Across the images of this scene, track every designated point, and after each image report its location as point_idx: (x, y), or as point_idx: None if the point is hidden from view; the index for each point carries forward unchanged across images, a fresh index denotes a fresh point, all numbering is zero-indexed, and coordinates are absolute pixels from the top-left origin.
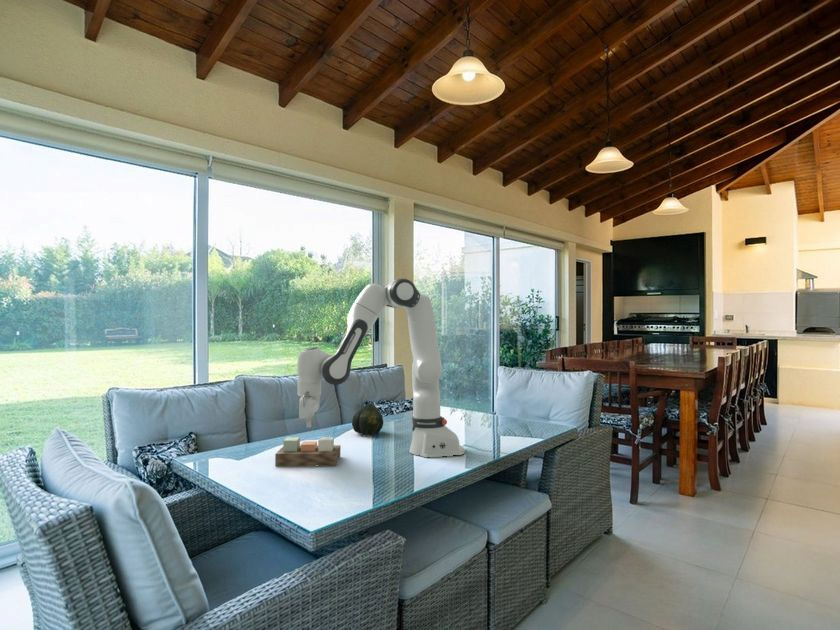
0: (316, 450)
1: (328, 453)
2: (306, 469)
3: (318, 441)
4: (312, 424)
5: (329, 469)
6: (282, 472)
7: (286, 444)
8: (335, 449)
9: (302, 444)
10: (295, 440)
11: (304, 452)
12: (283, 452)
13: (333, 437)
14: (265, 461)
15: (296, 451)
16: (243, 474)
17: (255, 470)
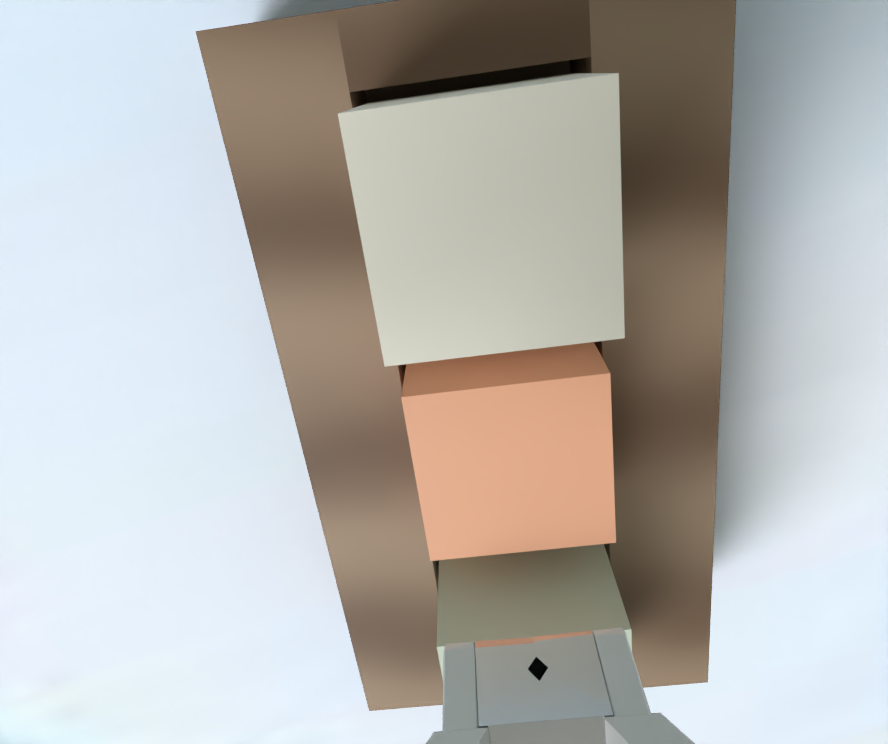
0: None
1: (728, 80)
2: (793, 293)
3: (619, 327)
4: (475, 661)
5: (823, 14)
6: (868, 476)
7: None
8: (474, 37)
9: (607, 526)
10: (630, 643)
11: (657, 432)
12: (654, 633)
13: (363, 114)
14: None
15: None
16: (877, 711)
17: (780, 677)
